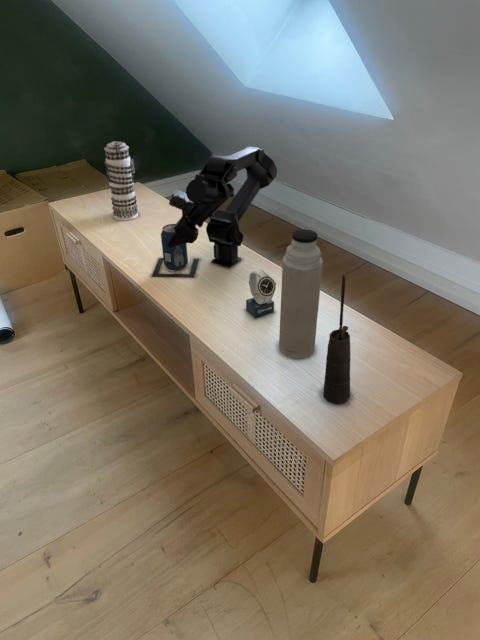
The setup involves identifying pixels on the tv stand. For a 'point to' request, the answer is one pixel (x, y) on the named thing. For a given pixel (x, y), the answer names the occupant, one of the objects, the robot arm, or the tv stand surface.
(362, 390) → the tv stand surface
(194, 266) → the tape square
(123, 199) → the white and grey cylinder
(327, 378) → the butter churn
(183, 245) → the soda can
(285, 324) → the thermos bottle
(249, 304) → the watch
